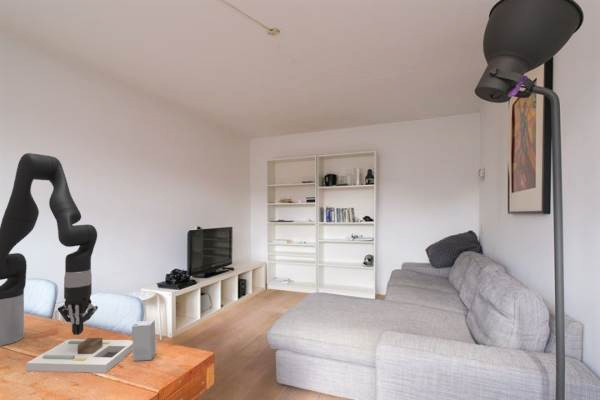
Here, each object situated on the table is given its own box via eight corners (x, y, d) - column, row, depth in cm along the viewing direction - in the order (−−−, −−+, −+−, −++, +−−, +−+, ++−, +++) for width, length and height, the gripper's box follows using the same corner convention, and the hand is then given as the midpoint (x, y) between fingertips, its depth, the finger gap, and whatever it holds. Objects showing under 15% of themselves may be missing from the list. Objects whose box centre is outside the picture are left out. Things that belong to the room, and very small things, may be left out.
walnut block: (77, 354, 99) (77, 345, 99) (88, 346, 104) (88, 338, 104) (92, 353, 99) (92, 344, 99) (102, 346, 104) (102, 338, 104)
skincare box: (156, 354, 103) (156, 319, 103) (151, 361, 99) (150, 324, 99) (137, 355, 103) (137, 320, 103) (131, 362, 98) (131, 325, 98)
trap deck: (26, 370, 93) (26, 360, 93) (68, 346, 109) (68, 337, 109) (105, 372, 92) (105, 362, 92) (136, 347, 108) (136, 338, 108)
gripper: (49, 286, 97) (49, 338, 97) (88, 287, 97) (87, 339, 97) (68, 279, 105) (68, 328, 105) (104, 280, 104) (104, 329, 104)
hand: (77, 333), depth 101 cm, fingers closed
